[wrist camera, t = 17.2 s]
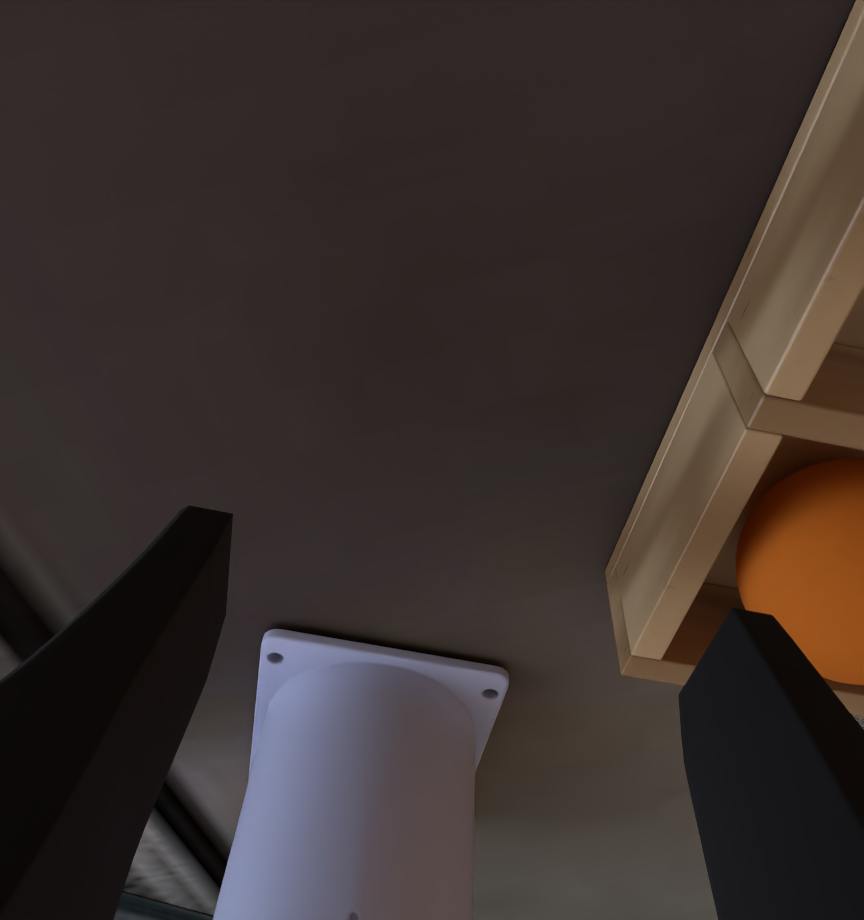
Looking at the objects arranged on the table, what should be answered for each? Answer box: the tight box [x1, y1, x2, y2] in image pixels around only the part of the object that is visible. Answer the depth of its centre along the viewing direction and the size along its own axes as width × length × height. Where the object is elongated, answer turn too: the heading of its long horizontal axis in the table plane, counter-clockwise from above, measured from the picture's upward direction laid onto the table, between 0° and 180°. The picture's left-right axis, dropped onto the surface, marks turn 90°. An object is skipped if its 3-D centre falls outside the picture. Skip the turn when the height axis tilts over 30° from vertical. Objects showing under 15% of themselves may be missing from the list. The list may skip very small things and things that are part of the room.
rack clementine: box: [736, 458, 864, 685], centre depth 19 cm, size 5×5×5 cm
